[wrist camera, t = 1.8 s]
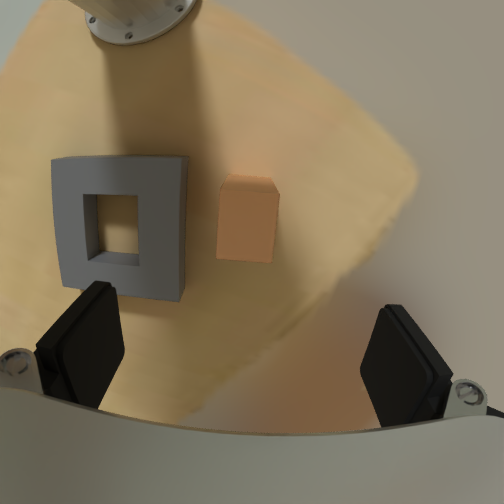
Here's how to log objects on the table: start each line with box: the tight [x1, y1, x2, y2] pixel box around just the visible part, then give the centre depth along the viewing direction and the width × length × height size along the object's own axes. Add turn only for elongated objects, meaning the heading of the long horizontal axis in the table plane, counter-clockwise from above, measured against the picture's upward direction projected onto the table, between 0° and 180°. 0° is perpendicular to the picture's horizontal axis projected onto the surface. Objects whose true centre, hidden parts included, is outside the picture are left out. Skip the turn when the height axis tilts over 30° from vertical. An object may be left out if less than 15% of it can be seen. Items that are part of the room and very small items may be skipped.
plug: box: [216, 174, 280, 263], centre depth 25 cm, size 5×4×9 cm
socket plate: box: [51, 155, 188, 302], centre depth 29 cm, size 14×14×3 cm
